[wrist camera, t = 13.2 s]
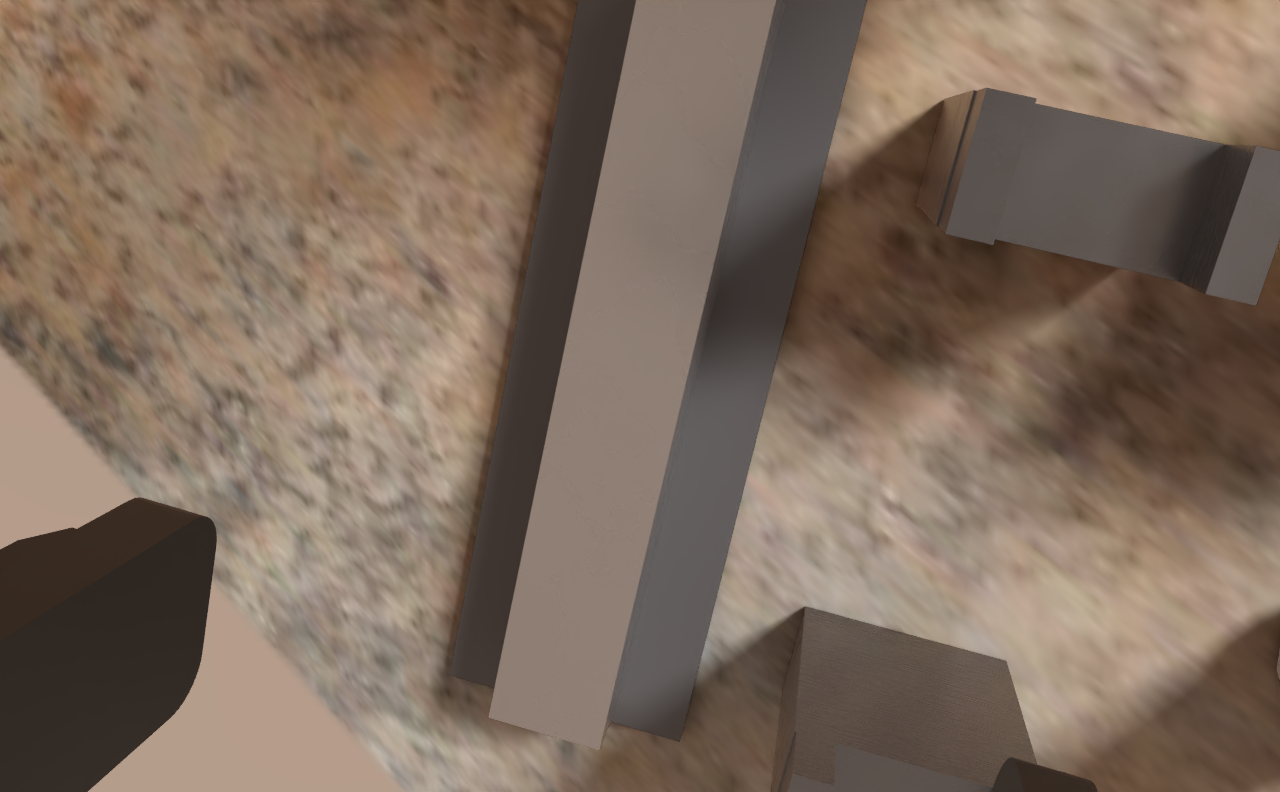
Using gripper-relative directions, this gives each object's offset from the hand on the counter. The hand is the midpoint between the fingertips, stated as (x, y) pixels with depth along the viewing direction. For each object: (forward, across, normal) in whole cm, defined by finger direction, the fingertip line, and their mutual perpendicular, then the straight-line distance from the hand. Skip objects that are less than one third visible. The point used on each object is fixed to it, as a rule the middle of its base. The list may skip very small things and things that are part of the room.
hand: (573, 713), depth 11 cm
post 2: (+25, -7, -5) cm, 26 cm away
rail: (+24, +3, +3) cm, 25 cm away
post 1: (+25, -7, +11) cm, 28 cm away
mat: (+25, +3, +3) cm, 25 cm away
